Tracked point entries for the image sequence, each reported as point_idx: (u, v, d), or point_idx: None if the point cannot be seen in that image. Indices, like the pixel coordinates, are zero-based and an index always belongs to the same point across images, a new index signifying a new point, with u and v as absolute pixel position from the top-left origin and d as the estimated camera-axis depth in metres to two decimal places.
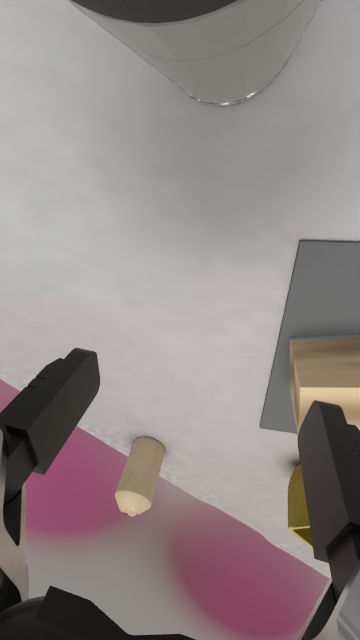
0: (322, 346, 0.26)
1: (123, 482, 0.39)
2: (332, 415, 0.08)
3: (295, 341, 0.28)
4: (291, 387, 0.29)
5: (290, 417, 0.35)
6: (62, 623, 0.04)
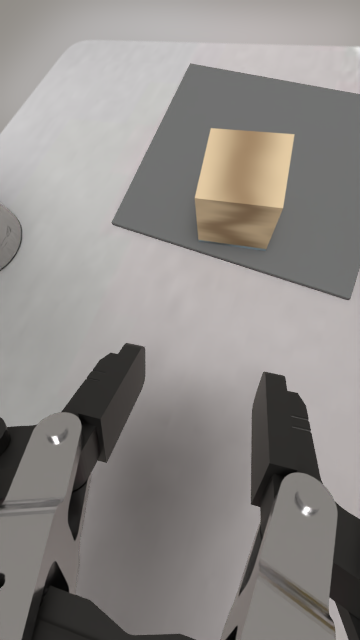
0: None
1: None
2: (275, 383, 0.09)
3: None
4: (250, 237, 0.26)
5: (326, 257, 0.27)
6: (62, 623, 0.04)
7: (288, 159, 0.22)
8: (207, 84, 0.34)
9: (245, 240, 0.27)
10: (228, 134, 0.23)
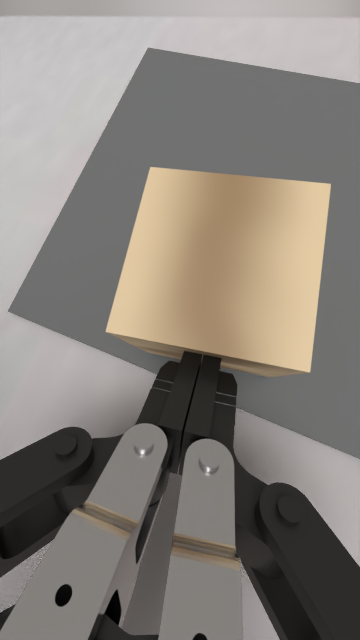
0: None
1: None
2: (210, 364, 0.10)
3: None
4: (237, 368, 0.14)
5: None
6: None
7: (319, 244, 0.10)
8: (173, 79, 0.21)
9: (229, 368, 0.14)
10: (186, 181, 0.11)
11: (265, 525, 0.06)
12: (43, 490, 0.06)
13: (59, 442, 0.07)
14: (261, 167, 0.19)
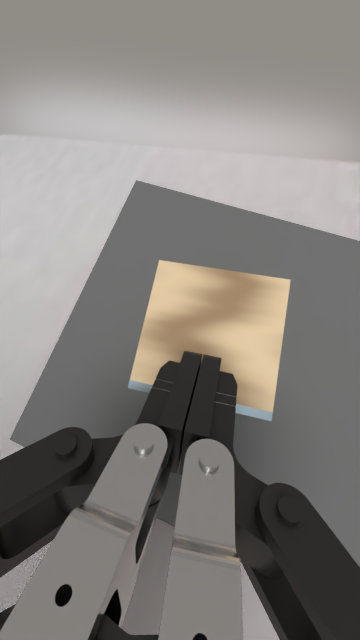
0: None
1: None
2: (210, 364, 0.10)
3: None
4: (238, 366, 0.13)
5: None
6: None
7: None
8: (158, 215, 0.24)
9: None
10: None
11: (265, 525, 0.06)
12: (42, 490, 0.06)
13: (59, 442, 0.07)
14: None
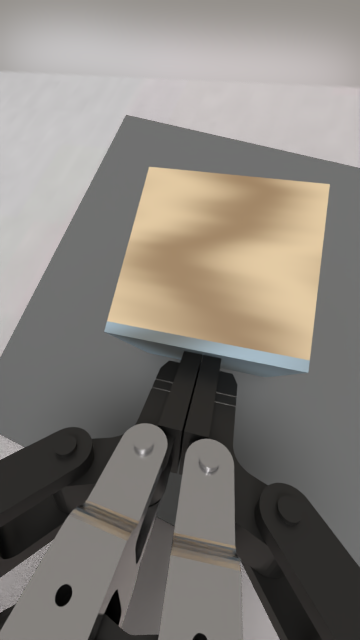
0: None
1: None
2: (210, 364, 0.10)
3: None
4: (259, 299, 0.09)
5: None
6: None
7: None
8: (152, 153, 0.20)
9: (245, 315, 0.09)
10: None
11: (265, 525, 0.06)
12: (43, 490, 0.06)
13: (59, 442, 0.07)
14: None
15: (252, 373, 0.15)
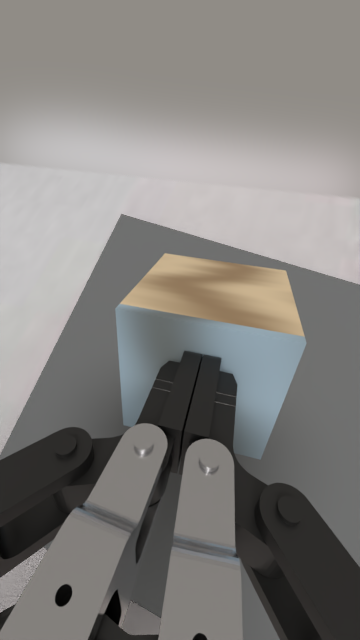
0: None
1: None
2: (210, 364, 0.10)
3: None
4: (252, 305, 0.11)
5: None
6: None
7: None
8: (144, 252, 0.22)
9: (242, 310, 0.11)
10: None
11: (265, 525, 0.06)
12: (43, 490, 0.06)
13: (59, 442, 0.07)
14: None
15: (246, 443, 0.13)
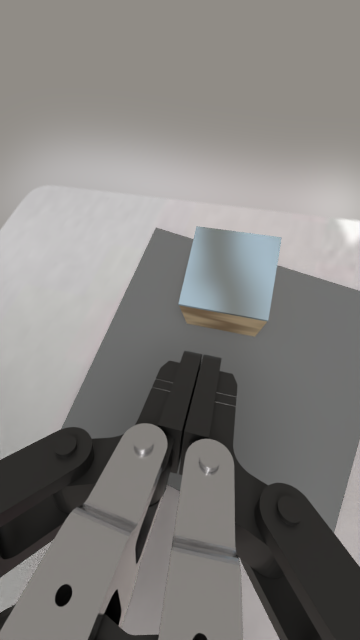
0: None
1: None
2: (210, 364, 0.10)
3: None
4: None
5: None
6: None
7: None
8: (173, 256, 0.30)
9: None
10: None
11: (265, 525, 0.06)
12: (43, 490, 0.06)
13: (59, 442, 0.07)
14: (231, 333, 0.27)
15: (258, 306, 0.21)
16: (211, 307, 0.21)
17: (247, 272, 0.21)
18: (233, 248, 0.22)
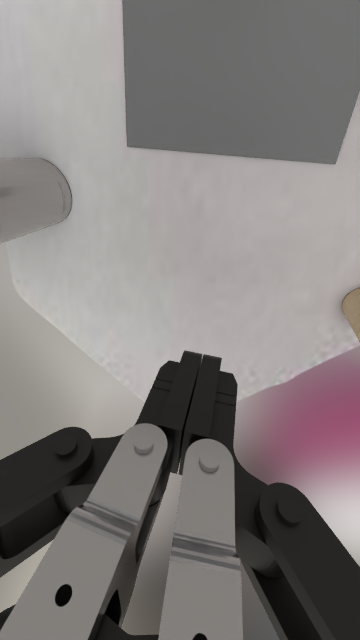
0: None
1: (357, 337, 0.35)
2: (210, 364, 0.10)
3: None
4: None
5: (316, 127, 0.30)
6: None
7: None
8: None
9: None
10: None
11: (265, 525, 0.06)
12: (42, 490, 0.06)
13: (59, 442, 0.07)
14: None
15: None
16: None
17: None
18: None
